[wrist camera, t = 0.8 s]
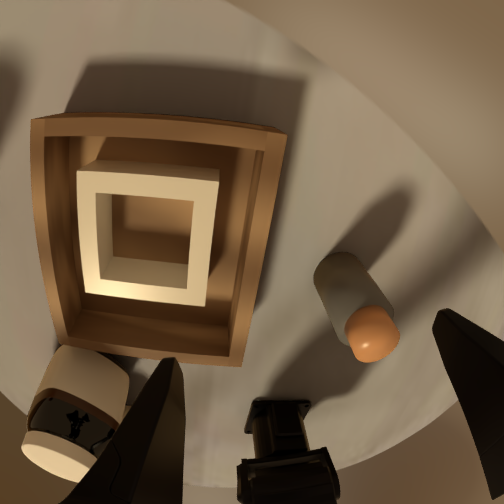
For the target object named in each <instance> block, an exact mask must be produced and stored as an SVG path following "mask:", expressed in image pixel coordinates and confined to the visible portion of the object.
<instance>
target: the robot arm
mask: <svg viewBox="0 0 504 504" xmlns="http://www.w3.org/2000/svg"><path fill="white" fill-rule="evenodd" d="M432 331H433V335H434V338H435V340H436V343H437V346H438V349H439V352H440V355H441V358H442V361H443V364H444V366H445V369H446V371H447V374H448V376H449V378H450V381H451V383H452V385H453V388H454V390H455V392H456V395H457V397H458V400H459V402H460V404H461V407H462V409H463V412H464V415H465V417H466V420H467V423H468V425H469V428H470V431H471V434H472V436H473V439H474V442H475V445H476V448H477V451H478V454H479V456H480V460H481V464H482V467H483V470H484V473H485V476H486V480H487V484H488V487H489V491H490V495H491V498H492V500H494V499H496V498H498V497H499V496H501V495H503V494H504V341H502V340H501V339H499V338H497V337H496V336H494V335H493V334H491V333H489V332H488V331H486V330H484V329H483V328H481V327H480V326H478V325H476V324H475V323H473V322H471V321H470V320H468V319H466V318H465V317H463V316H461V315H460V314H458V313H456V312H454V311H453V310H451V309H449V308H446V309H442V310H439V311H438V313H437V315H436V318H435V321H434V323H433V326H432ZM310 407H311V402H310V401H254V402H253V403H252V404H251V408H250V411H249V415H248V418H247V421H246V425H245V428H244V432H245V433H246V434H253V442H254V451H255V459H241V460H242V464H240V465H238V466H237V500H238V501H239V502H240V503H242V504H337V502H336V500H338V499H339V498H340V485H339V479H338V475H337V473H336V470H335V468H334V465H333V463H332V460H331V458H330V455H329V452H328V450H327V447H322V448H321V449H316V450H310V447H309V443H308V439H307V435H306V430H305V426H304V422H303V420H304V418H305V416H306V415H307V413H308V411H309V409H310ZM185 425H186V416H185V398H184V379H183V373H182V370H181V368H180V366H179V363H178V361H177V359H176V358H175V357H165V358H163V359H162V360H161V361H160V363H159V364H158V366H157V367H156V369H155V370H154V372H153V374H152V375H151V377H150V378H149V380H148V381H147V383H146V384H145V386H144V387H143V389H142V391H141V392H140V394H139V395H138V397H137V398H136V400H135V401H134V403H133V405H132V406H131V408H130V409H129V411H128V412H127V414H126V416H125V417H124V419H123V420H122V422H121V423H120V425H119V426H118V428H117V430H116V431H115V433H114V434H113V436H112V438H111V439H112V440H110V441H109V442H108V444H107V445H106V447H105V448H104V450H103V451H102V453H101V454H100V456H99V457H98V459H97V460H96V462H95V463H94V464H93V465H92V467H91V468H90V469H89V471H88V472H87V473H86V474H85V476H84V477H83V478H82V479H81V480H80V482H79V483H78V484H77V485H76V487H75V488H74V489H73V490H72V491H71V493H70V494H69V495H68V496H67V497H66V498H65V499H64V500H63V501H61V502H60V503H58V504H182V496H183V465H184V443H185Z"/></svg>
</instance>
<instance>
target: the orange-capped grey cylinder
mask: <svg viewBox="0 0 504 504" xmlns="http://www.w3.org/2000/svg"><path fill="white" fill-rule="evenodd" d="M314 285H315V287H316V289H317V291H318V294H319V296H320V298H321V300H322V302H323V305H324V307H325V309H326V311H327V314H328V316H329V318H330V320H331V323H332V325H333V327H334V330H335V332H336V334H337V336H338V339H339V340H340V341H341V342H342V343H343V344H345V345H347V346H351V348H352V350H353V353H354V355H355V357H356V358H357V359H358V360H359V361H361V362H374V361H377V360H380V359H382V358H384V357H385V356H387V355H388V354H390V353H391V352H392V351H393V350H394V348H395V347H396V346H397V344H398V342H399V339H400V333H399V331H398V329H397V327H396V326H395V324H394V323H393V317H394V311H393V307H392V305H391V304H390V303H389V301H388V300H387V298H386V297H385V295H384V294H383V293H382V291H381V290H380V288H379V287H378V286H377V284H376V283H375V282H374V280H373V279H372V277H371V276H370V275H369V273H368V272H367V271H366V269H365V268H364V267H363V265H362V264H361V262H360V261H359V260H358V259H357V257H355V256H354V255H352V254H350V253H346V252H338V253H334V254H332V255H329V256H328V257H326V258H325V259H323V260H322V261H321V262H320V263H319V265H318V266H317V268H316V270H315V272H314Z"/></svg>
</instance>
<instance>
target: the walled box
mask: <svg viewBox="0 0 504 504" xmlns="http://www.w3.org/2000/svg"><path fill="white" fill-rule="evenodd" d="M286 141H287V134H285V133H283V132H282V131H280V130H278V129H276V128H275V127H269V126H263V125H256V124H249V123H242V122H235V121H227V120H219V119H210V118H200V117H190V116H178V115H164V114H147V113H117V112H80V113H61V114H55V115H50V116H45V117H40V118H35V119H31V131H30V163H31V187H32V201H33V212H34V222H35V230H36V238H37V245H38V252H39V258H40V264H41V270H42V275H43V280H44V285H45V290H46V294H47V299H48V303H49V307H50V312H51V316H52V320H53V323H54V327H55V331H56V334H57V338H58V341H59V344H63V345H67V346H72V347H77V348H83V349H88V350H94V351H99V352H105V353H111V354H118V355H124V356H131V357H138V358H146V359H154V360H162V359H163V358H165V357H175V358H176V359H177V361H178V362H181V363H191V364H203V365H217V366H233V367H242V362H243V357H244V352H245V347H246V343H247V338H248V333H249V328H250V323H251V319H252V314H253V309H254V304H255V299H256V294H257V289H258V284H259V279H260V274H261V269H262V264H263V259H264V254H265V249H266V244H267V239H268V234H269V229H270V224H271V219H272V214H273V209H274V203H275V198H276V193H277V188H278V183H279V178H280V172H281V167H282V162H283V157H284V151H285V146H286ZM94 160H115V161H132V162H147V163H160V164H172V165H183V166H193V167H203V168H212V169H220V172H219V187H218V195H217V202H216V210H215V218H214V226H213V235H212V244H211V252H210V261H209V271H208V280H207V290H206V300H205V307H204V306H194V305H184V304H174V303H165V302H156V301H147V300H139V299H130V298H123V297H115V296H108V295H100V294H93V293H86V292H85V285H84V278H83V270H82V261H81V251H80V240H79V227H78V209H77V170H79V169H80V168H82V167H84V166H86V165H87V164H89V163H91V162H92V161H94ZM193 206H194V201H188V200H178V199H168V198H157V197H145V196H133V195H121V194H112V241H113V256H114V257H123V258H132V259H141V260H150V261H160V262H169V263H179V264H189V251H190V238H191V227H192V216H193Z"/></svg>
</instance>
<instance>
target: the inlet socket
mask: <svg viewBox="0 0 504 504" xmlns="http://www.w3.org/2000/svg"><path fill="white" fill-rule="evenodd" d="M219 172H220V169H212V168H203V167H193V166H183V165H172V164H160V163H147V162H132V161H115V160H94V161H92V162H91V163H89V164H87V165H86V166H84V167H82V168H80V169H79V170H77V209H78V227H79V240H80V251H81V261H82V270H83V278H84V285H85V292H86V293H93V294H100V295H108V296H115V297H123V298H130V299H139V300H147V301H156V302H165V303H174V304H184V305H194V306H204V307H205V300H206V290H207V280H208V271H209V261H210V252H211V244H212V235H213V226H214V218H215V210H216V202H217V195H218V187H219ZM112 194H121V195H133V196H145V197H157V198H168V199H178V200H188V201H194V206H193V216H192V227H191V238H190V251H189V264H179V263H169V262H160V261H150V260H141V259H132V258H123V257H114V256H113V241H112Z"/></svg>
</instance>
